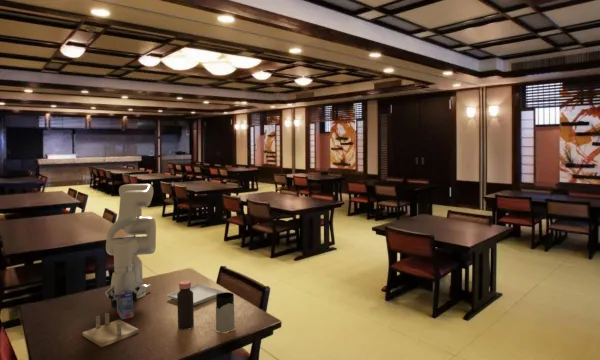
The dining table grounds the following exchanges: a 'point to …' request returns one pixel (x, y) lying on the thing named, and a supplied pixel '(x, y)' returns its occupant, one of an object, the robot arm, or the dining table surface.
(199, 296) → the salad plate
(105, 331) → the pin board
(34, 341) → the dining table surface
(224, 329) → the glass holder
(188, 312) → the bottle
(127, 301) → the ink cartridge box
